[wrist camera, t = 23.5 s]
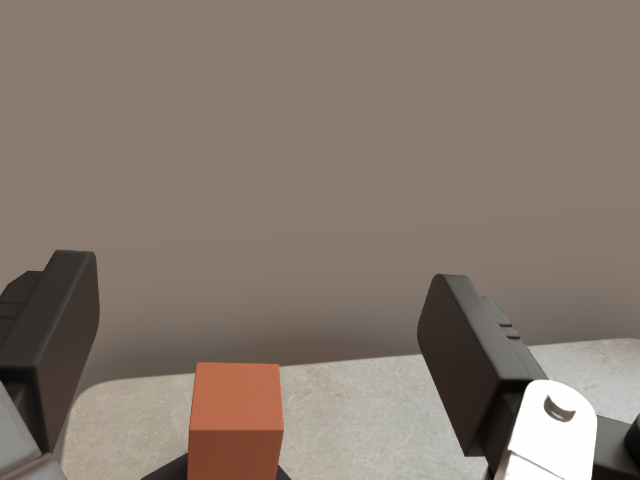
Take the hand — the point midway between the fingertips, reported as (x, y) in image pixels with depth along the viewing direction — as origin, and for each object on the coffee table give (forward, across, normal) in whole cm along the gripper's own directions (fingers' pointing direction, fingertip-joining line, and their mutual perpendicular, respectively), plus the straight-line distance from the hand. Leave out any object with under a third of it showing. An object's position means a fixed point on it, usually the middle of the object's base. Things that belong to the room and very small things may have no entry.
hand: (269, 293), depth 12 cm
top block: (+11, 0, +24) cm, 27 cm away
